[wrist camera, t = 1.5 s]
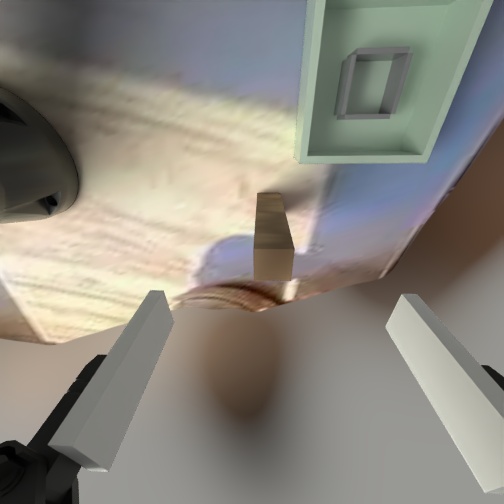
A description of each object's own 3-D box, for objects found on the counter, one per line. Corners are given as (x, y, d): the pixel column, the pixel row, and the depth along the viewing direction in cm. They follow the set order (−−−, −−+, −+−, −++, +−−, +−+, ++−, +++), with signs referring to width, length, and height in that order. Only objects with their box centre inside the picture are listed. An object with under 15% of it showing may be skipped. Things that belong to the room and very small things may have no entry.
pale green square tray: (293, 157, 24) (299, 163, 21) (307, 1, 18) (319, -32, 14) (400, 156, 24) (426, 162, 20) (455, -5, 17) (510, -40, 14)
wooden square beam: (257, 214, 29) (253, 280, 17) (257, 193, 27) (253, 248, 15) (279, 214, 28) (290, 280, 17) (280, 193, 27) (294, 249, 15)
